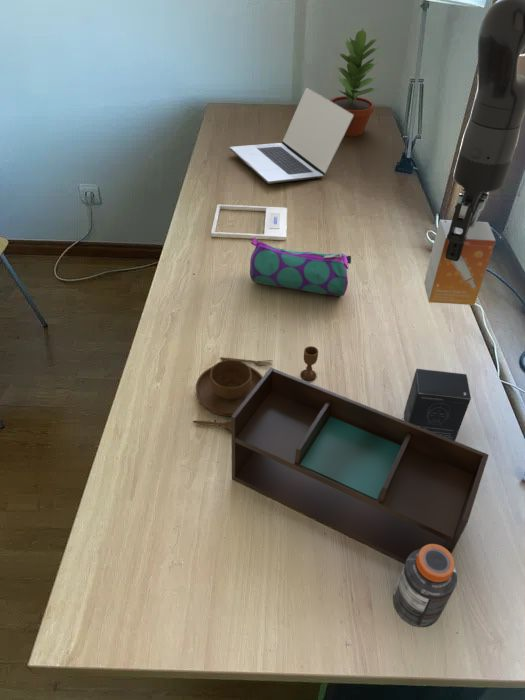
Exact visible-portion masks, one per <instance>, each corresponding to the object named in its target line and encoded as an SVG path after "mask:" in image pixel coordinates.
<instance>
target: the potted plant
mask: <svg viewBox="0 0 525 700" xmlns="http://www.w3.org/2000/svg"><path fill="white" fill-rule="evenodd" d="M376 41H378V38H377V39H376V38H374V39H371V40H369V42H367V32H366V31H365V30H364V28H361V30H359V31H358V32H356V35H355V39H352V38H351V37H349V40H348V39H346V42H345V45H346V48H347V51H348V53H349V55H346V54H344V53H339V52H337V54H338V55H339V57H341V58H342V59H343V60H344V61H345V62H347V63H346V68H344V67H339V66H336V69H338V71H339V72H340V73H341V74H342V76H343V77H344V78H343V77H340V76H338V77H339V79H338V81H339V82H340V83H341V85H342V86H343V87H344V88H345V91H342V90H340V89H338V91H339V92H340V93H341V94H343V95H341V96H335V97H333V98H331V99H329V100H330V101H332V102H333V103H335V104H337V105H338V106H340V107H342V108H343V109H345V110H347V111H349V112H350V113H352V114H353V115H354V117H353V119H352V121H351V123H350V125H349V127H348V129H347V131H346V133H345V135H344V137H357V136H361V135H363V133H364V132H365V129H366V127H367V124H368V122H369V119H370V117H371V115H372V114H373V113H374V108H375V104H374V102H373V101H371V100H370V99H367V98H365V97H361V95H365V94H369V93H371V92H374V91H376V90H378V88H374V87H368V88H365V89H362V88H363V87H365V86H367V85H369V84H370V83H372V82H374V81H375V79H377V77H374V78H373V77H368V78H365V77H366V76H367V74H368V73H369V72H370V71H372V70H373V68H374V67H375V66H376V65H377V64H378V62H376V63H373V62H374V60H375V57H373V58H372V59H370V60H368V61H366V62H364V63H363V61H364V60H365V59H366V58H367V57H369V56H370V55H371V54H373V53H374V52H376V51H377V50H378V49H379V47H378V48H375V47H373V48H371V49H370V47H371V46H372V45H373V44H375V43H376ZM366 42H367V44H366ZM368 49H369V50H368ZM362 63H363V64H362ZM346 69H347V70H346ZM360 89H361V90H360Z"/></svg>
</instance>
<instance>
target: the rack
mask: <svg viewBox="0 0 525 700" xmlns="http://www.w3.org/2000/svg"><path fill="white" fill-rule="evenodd" d="M230 421H231V430H230V433H231V435H230V436H231V438H230V439H231V480H232V481H234V482H236V483H238V484H240V485H242V486H244V487H246V488H249V489H250V490H253V491H254V492H257V493H259V494H261V495H263V496H265V497H267V498H269V499H271V500H273V501H274V502H277V503H279V504H281V505H283V506H285V507H288V508H290V509H291V510H293V511H295V512H297V513H300V514H302V515H303V516H306V517H308V518H309V519H312V520H314V521H316V522H318V523H320V524H322V525H324V526H326V527H328V528H330V529H332V530H334V531H336V532H338V533H341V534H343V535H344V536H347V537H348V538H351V539H352V540H355V541H356V542H359V543H361V544H362V545H365V546H367V547H369V548H371V549H373V550H375V551H377V552H379V553H381V554H383V555H385V556H388V557H389V558H391V559H393V560H395V561H398V562H400V563H401V564H403V565H404V564H405V562H406V560H407V558H408V556H409V555H410V554H411V553H412V552H414V551H415V550H418V549H421V548H422V547H424V546H425V545H428V544H437V545H440V546H442V547H444V548H446V549H447V550H448V551H449V552H450V553H451V555H452V554H453V553H454V550H455V548H456V547H457V545H458V542H459V540H460V539H461V537H462V535H463V533H464V530H465V528H466V527H467V525H468V523H469V520H470V517H471V513H472V510H473V506H474V504H475V500H476V497H477V494H478V491H479V487H480V484H481V482H482V477H483V474H484V471H485V468H486V465H487V462H488V459H489V454H488V453H486V452H483V451H481V450H479V449H476V448H473V447H471V446H468V445H466V444H463V443H461V442H458V441H456V440H455V441H454V440H451V439H449V438H446V437H444V436H441V435H439V434H436V433H434V432H431V431H429V430H426V429H424V428H421V427H419V426H416V425H414V424H411V423H409V422H406V421H404V419H402V418H401V419H400V418H399V417H396V416H393V415H391V414H389V413H386V412H383V411H381V410H378V409H376V408H373V407H370V406H368V405H365V404H364V403H361V402H358V401H357V400H354V399H351V398H348V397H345V396H344V395H341V394H339V393H336V392H333V391H330V390H328V389H326V388H323V387H321V386H318V385H316V384H313V383H310V382H309V381H307V380H304V379H302V378H298V377H296V376H294V375H291V374H288V373H286V372H283V371H281V370H278V369H276V368H273V367H270V368H269V369H268V370H267V371H266V372H265V373H264V374H263V375H262V379H261V380H260V381H259V382H258V384H257V385H256V386H255V387H254V389H253V390H252V391H251V392H250V394H249V395H248V396H247V397H246V399H245V400H244V401H243V402H242V404H241V405H240V406H239V407H238V409H237V410H236V411H235V413H234V414H233V415H232V416H230Z"/></svg>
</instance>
